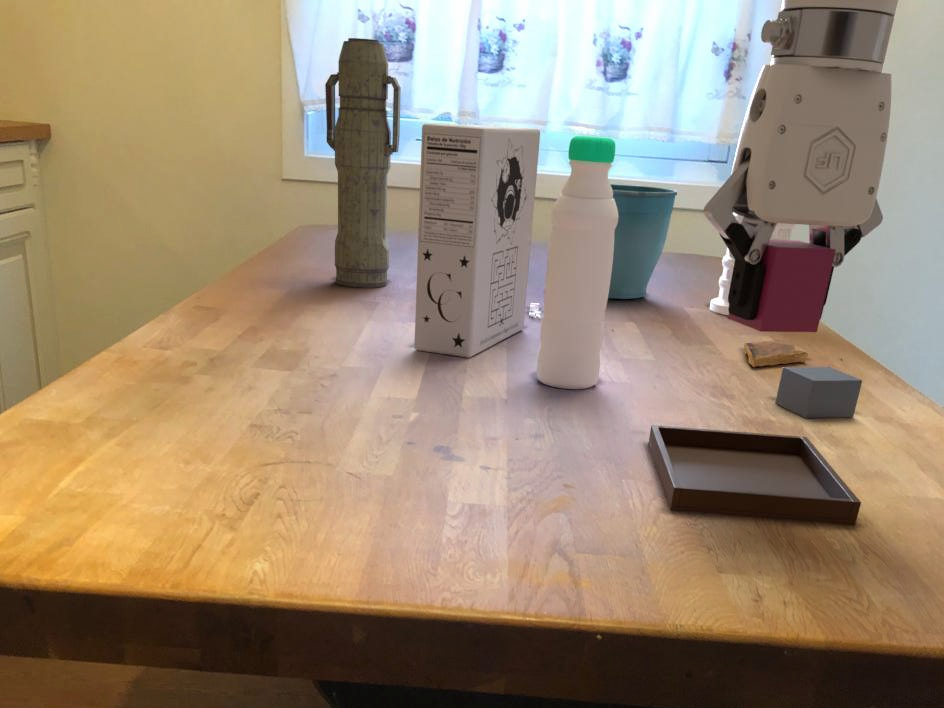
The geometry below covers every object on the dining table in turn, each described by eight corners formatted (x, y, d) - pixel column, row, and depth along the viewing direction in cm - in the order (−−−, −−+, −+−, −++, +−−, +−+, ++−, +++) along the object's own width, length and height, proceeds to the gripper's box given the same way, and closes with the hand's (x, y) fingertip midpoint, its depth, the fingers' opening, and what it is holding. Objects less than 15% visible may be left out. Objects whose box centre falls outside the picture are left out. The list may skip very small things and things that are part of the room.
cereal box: (473, 322, 140) (485, 125, 128) (524, 329, 138) (541, 129, 126) (413, 350, 122) (420, 123, 110) (470, 358, 120) (484, 128, 108)
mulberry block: (781, 319, 80) (798, 240, 77) (817, 332, 76) (836, 249, 73) (727, 318, 79) (742, 238, 76) (760, 331, 74) (777, 247, 72)
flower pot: (542, 295, 165) (553, 184, 157) (573, 282, 180) (584, 180, 172) (648, 308, 159) (664, 194, 151) (671, 294, 174) (687, 189, 166)
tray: (801, 461, 91) (806, 436, 90) (854, 530, 76) (861, 502, 75) (647, 449, 91) (651, 424, 90) (669, 515, 76) (674, 487, 75)
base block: (821, 402, 111) (829, 366, 109) (853, 417, 106) (862, 380, 104) (774, 403, 109) (782, 366, 107) (805, 418, 104) (814, 380, 102)
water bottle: (587, 394, 108) (618, 139, 96) (527, 384, 110) (549, 134, 98) (604, 381, 114) (635, 139, 102) (547, 372, 116) (570, 134, 104)
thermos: (334, 276, 169) (332, 39, 153) (401, 282, 168) (407, 43, 151) (319, 284, 162) (316, 35, 145) (389, 290, 160) (395, 39, 144)
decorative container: (789, 321, 157) (814, 198, 148) (716, 316, 157) (738, 193, 148) (771, 308, 167) (794, 192, 159) (703, 303, 167) (723, 187, 159)
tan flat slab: (750, 369, 124) (753, 354, 123) (707, 356, 129) (710, 342, 129) (808, 363, 129) (811, 349, 128) (765, 350, 135) (767, 337, 134)
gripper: (750, 32, 63) (699, 326, 71) (968, 55, 67) (895, 328, 76) (694, 37, 69) (653, 306, 78) (897, 58, 74) (837, 309, 82)
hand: (774, 314), depth 77 cm, fingers closed on mulberry block, 5 cm apart
